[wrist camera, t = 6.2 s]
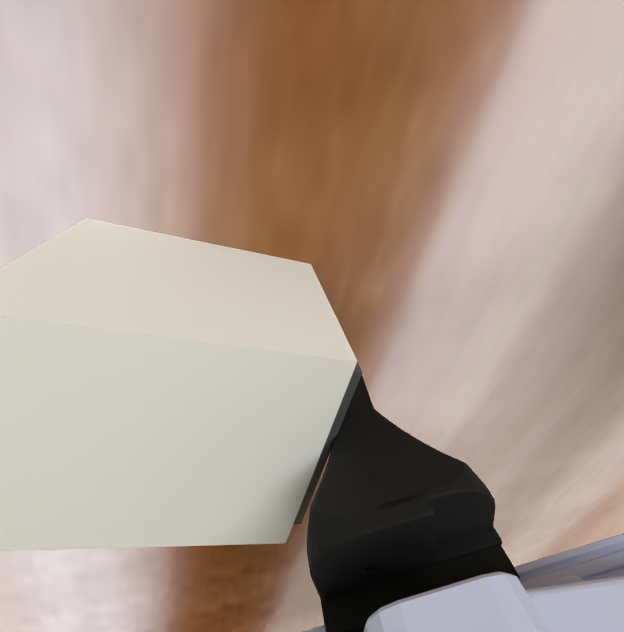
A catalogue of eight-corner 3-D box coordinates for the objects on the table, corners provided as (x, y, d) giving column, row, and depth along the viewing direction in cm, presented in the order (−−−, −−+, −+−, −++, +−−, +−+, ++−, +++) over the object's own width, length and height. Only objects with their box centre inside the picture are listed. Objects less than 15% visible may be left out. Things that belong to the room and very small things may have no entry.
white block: (320, 266, 13) (373, 363, 8) (280, 403, 16) (298, 543, 11) (86, 217, 11) (-67, 306, 6) (89, 386, 14) (-9, 551, 9)
